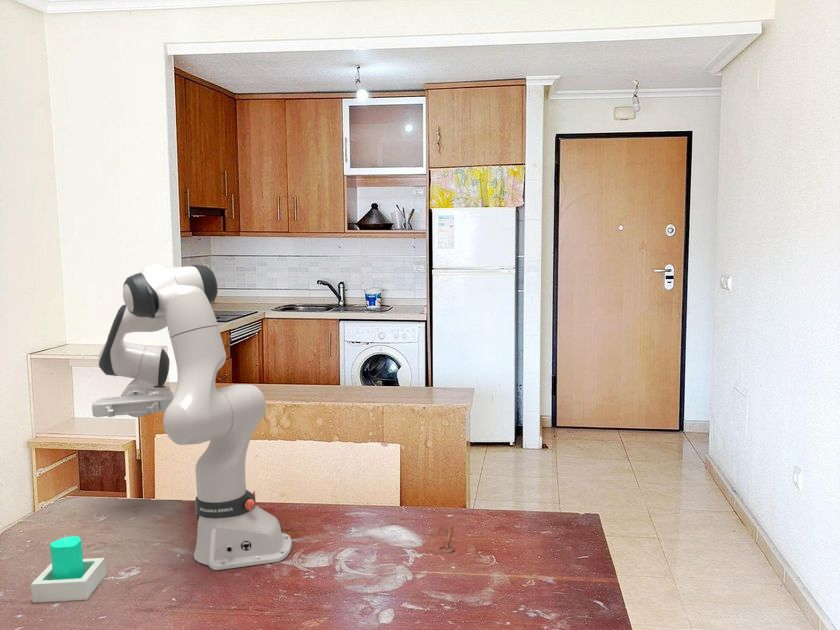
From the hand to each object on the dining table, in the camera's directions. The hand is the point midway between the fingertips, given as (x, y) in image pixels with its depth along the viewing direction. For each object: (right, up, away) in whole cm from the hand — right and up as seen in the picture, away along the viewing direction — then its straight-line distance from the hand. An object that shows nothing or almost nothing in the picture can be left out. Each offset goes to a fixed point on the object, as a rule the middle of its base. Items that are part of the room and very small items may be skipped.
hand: (130, 412), depth 188 cm
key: (+80, -30, -10) cm, 86 cm away
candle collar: (-1, -34, -29) cm, 45 cm away
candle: (-2, -34, -29) cm, 45 cm away
